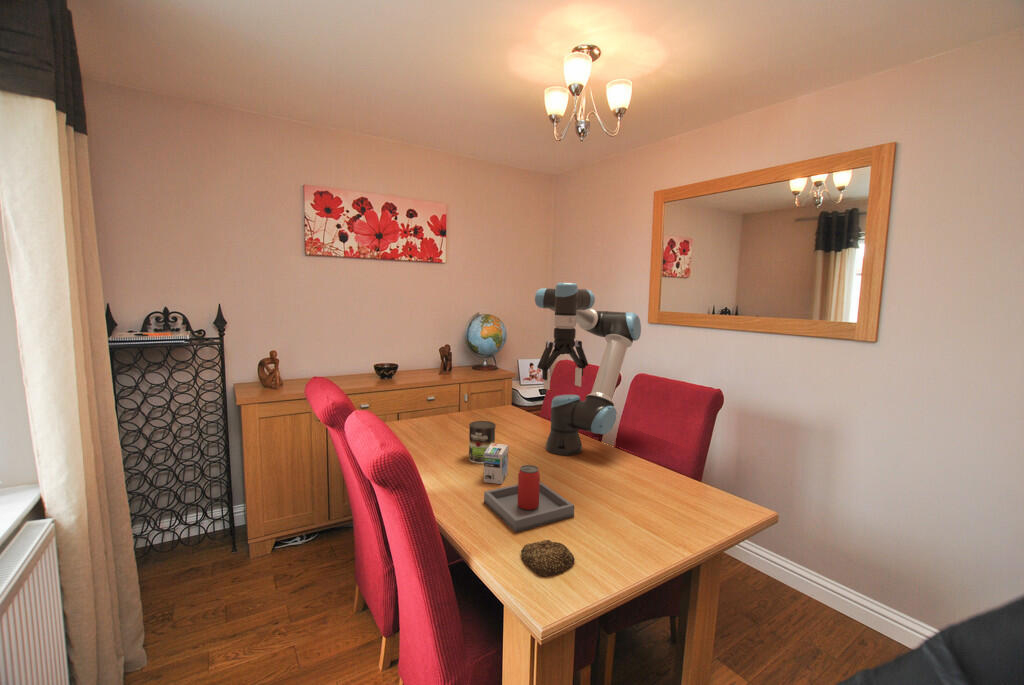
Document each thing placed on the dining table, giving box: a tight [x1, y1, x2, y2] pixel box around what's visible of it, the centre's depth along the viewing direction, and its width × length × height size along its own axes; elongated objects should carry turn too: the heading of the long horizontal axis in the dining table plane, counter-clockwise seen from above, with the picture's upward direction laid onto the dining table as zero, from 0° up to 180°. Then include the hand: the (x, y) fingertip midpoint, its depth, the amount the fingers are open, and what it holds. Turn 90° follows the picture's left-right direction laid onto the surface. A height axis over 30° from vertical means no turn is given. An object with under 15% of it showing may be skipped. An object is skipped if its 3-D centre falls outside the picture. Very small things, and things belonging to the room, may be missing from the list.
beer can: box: [517, 464, 541, 510], centre depth 136 cm, size 7×7×12 cm
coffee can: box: [468, 420, 496, 465], centre depth 175 cm, size 10×10×14 cm
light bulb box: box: [483, 442, 509, 485], centre depth 158 cm, size 11×7×11 cm, turn 168°
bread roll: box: [520, 539, 576, 577], centre depth 111 cm, size 13×12×5 cm
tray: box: [483, 481, 575, 534], centre depth 136 cm, size 20×20×4 cm
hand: (562, 387), depth 158 cm, fingers open, 13 cm apart
